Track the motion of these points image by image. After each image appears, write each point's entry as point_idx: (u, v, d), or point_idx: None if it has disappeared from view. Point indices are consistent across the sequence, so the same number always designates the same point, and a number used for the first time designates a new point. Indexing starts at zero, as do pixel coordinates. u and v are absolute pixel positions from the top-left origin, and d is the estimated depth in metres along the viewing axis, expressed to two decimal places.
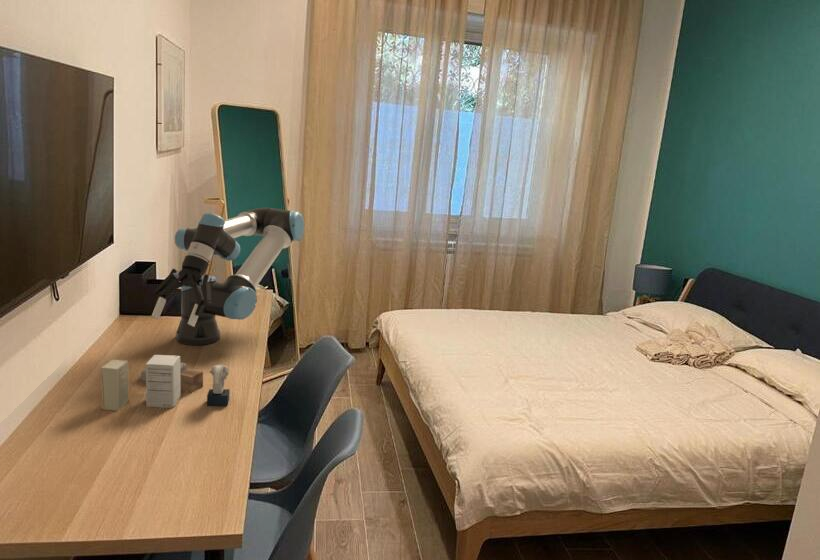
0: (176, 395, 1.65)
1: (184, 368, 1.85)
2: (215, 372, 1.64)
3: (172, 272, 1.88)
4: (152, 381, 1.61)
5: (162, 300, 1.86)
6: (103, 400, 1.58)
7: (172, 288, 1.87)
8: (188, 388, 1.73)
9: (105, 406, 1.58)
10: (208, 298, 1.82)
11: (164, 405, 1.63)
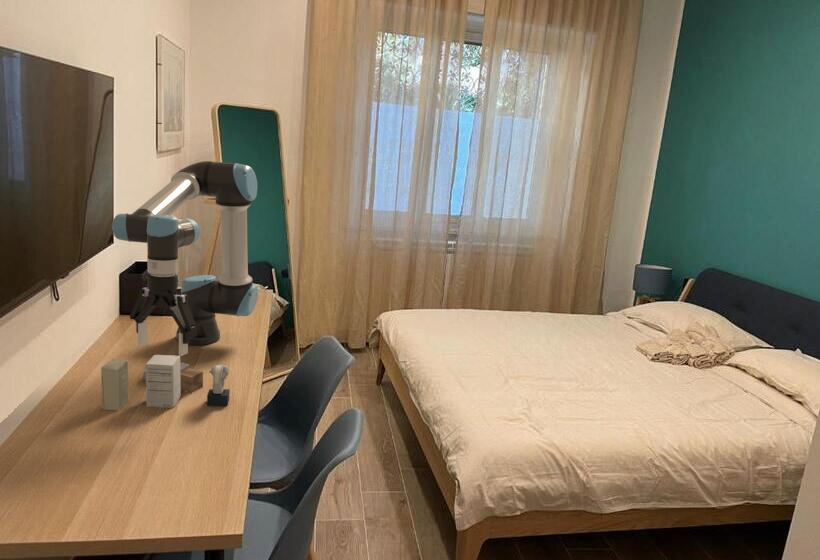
0: (176, 395, 1.65)
1: (187, 368, 1.85)
2: (215, 372, 1.64)
3: (141, 293, 1.60)
4: (152, 381, 1.61)
5: (143, 325, 1.63)
6: (103, 400, 1.58)
7: (148, 311, 1.61)
8: (188, 388, 1.73)
9: (105, 406, 1.58)
10: (191, 324, 1.57)
11: (164, 405, 1.63)
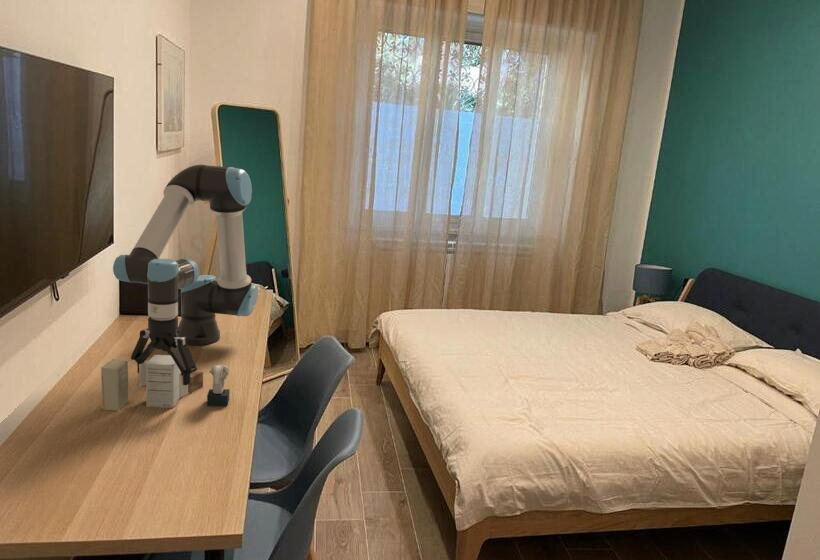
0: (176, 395, 1.65)
1: None
2: (215, 372, 1.64)
3: (141, 335, 1.62)
4: (152, 381, 1.61)
5: (144, 366, 1.65)
6: (103, 400, 1.58)
7: (149, 352, 1.64)
8: (188, 388, 1.73)
9: (105, 406, 1.58)
10: (191, 366, 1.60)
11: (164, 405, 1.63)
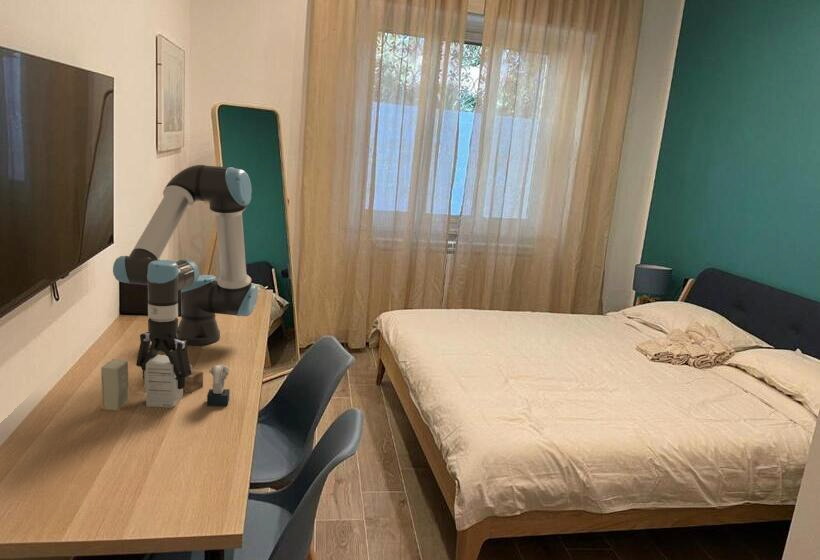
0: None
1: None
2: (215, 372, 1.64)
3: (142, 339, 1.63)
4: (151, 381, 1.61)
5: None
6: (103, 400, 1.58)
7: (152, 356, 1.64)
8: (188, 388, 1.73)
9: (105, 406, 1.58)
10: (186, 370, 1.61)
11: (164, 405, 1.62)
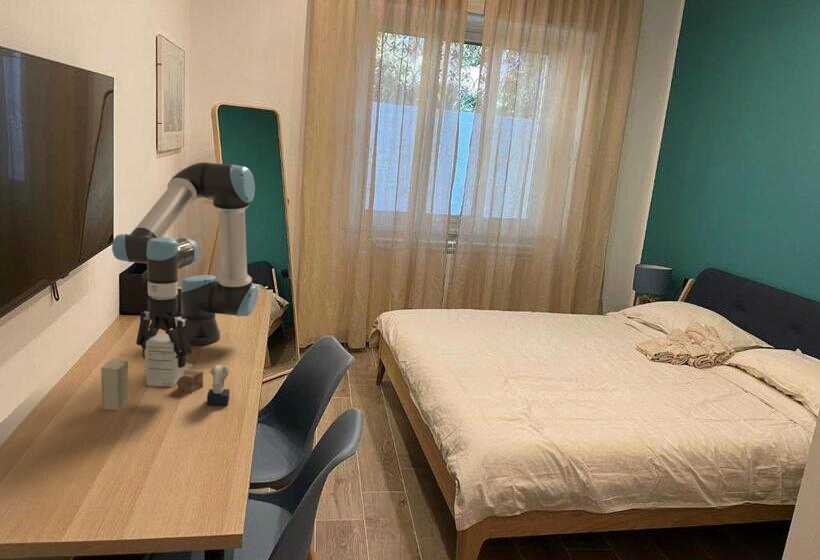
0: None
1: None
2: (215, 372, 1.64)
3: (142, 317, 1.61)
4: (152, 359, 1.59)
5: None
6: (103, 400, 1.58)
7: (152, 335, 1.62)
8: (188, 388, 1.73)
9: (105, 406, 1.58)
10: (187, 348, 1.60)
11: (164, 384, 1.62)
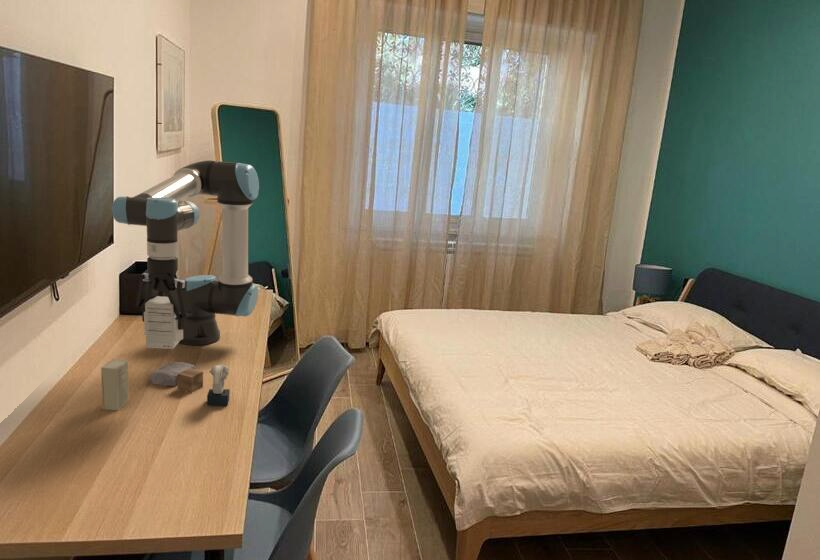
0: None
1: None
2: (215, 372, 1.64)
3: (141, 279, 1.60)
4: (151, 321, 1.58)
5: None
6: (103, 400, 1.58)
7: (151, 297, 1.61)
8: (188, 388, 1.73)
9: (105, 406, 1.58)
10: (187, 310, 1.58)
11: (164, 346, 1.60)
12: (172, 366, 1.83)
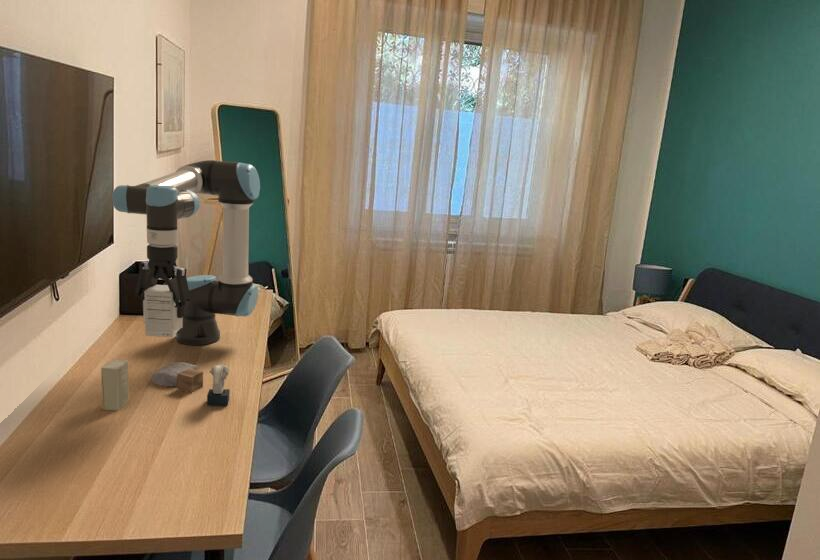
0: None
1: (195, 369, 1.85)
2: (215, 372, 1.64)
3: (141, 267, 1.59)
4: (150, 309, 1.57)
5: None
6: (103, 400, 1.58)
7: (151, 285, 1.60)
8: (188, 388, 1.73)
9: (105, 406, 1.58)
10: (186, 298, 1.58)
11: (163, 334, 1.59)
12: (174, 366, 1.83)
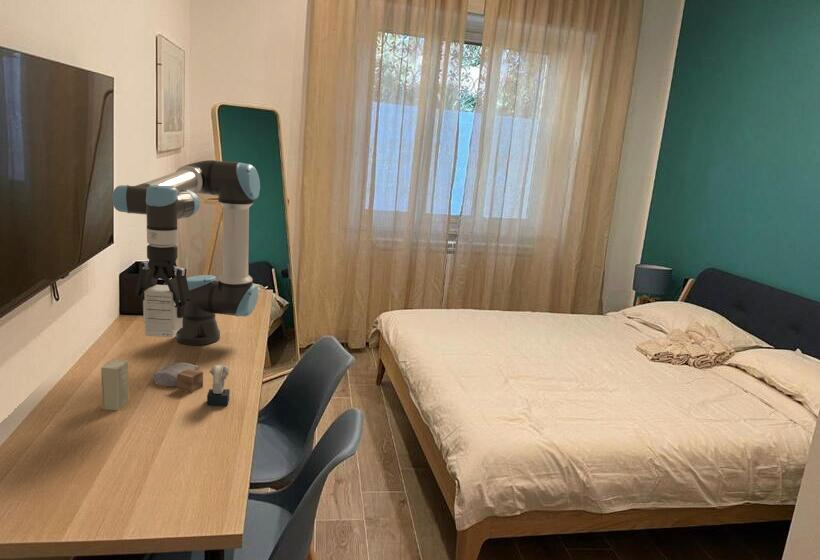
0: None
1: None
2: (215, 372, 1.64)
3: (141, 267, 1.59)
4: (150, 309, 1.57)
5: None
6: (103, 400, 1.58)
7: (151, 285, 1.60)
8: (188, 388, 1.73)
9: (105, 406, 1.58)
10: (186, 298, 1.58)
11: (163, 334, 1.59)
12: (175, 367, 1.83)
